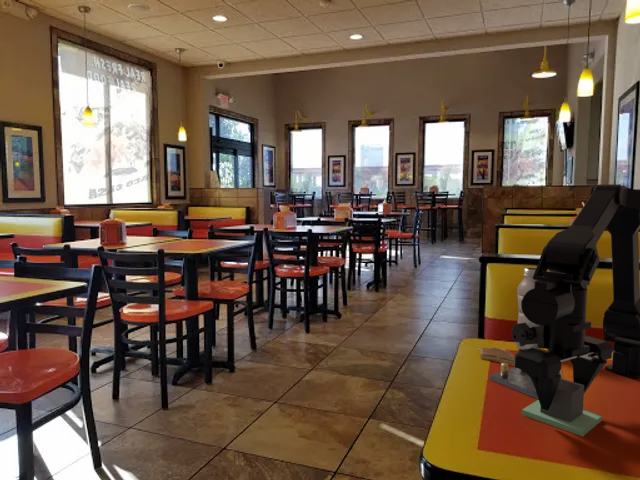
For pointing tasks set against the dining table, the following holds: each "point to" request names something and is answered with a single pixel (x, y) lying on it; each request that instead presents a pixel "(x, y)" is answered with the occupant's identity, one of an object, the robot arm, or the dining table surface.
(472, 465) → the dining table surface
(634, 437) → the dining table surface
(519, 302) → the plastic bottle
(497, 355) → the shard
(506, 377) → the chassis
